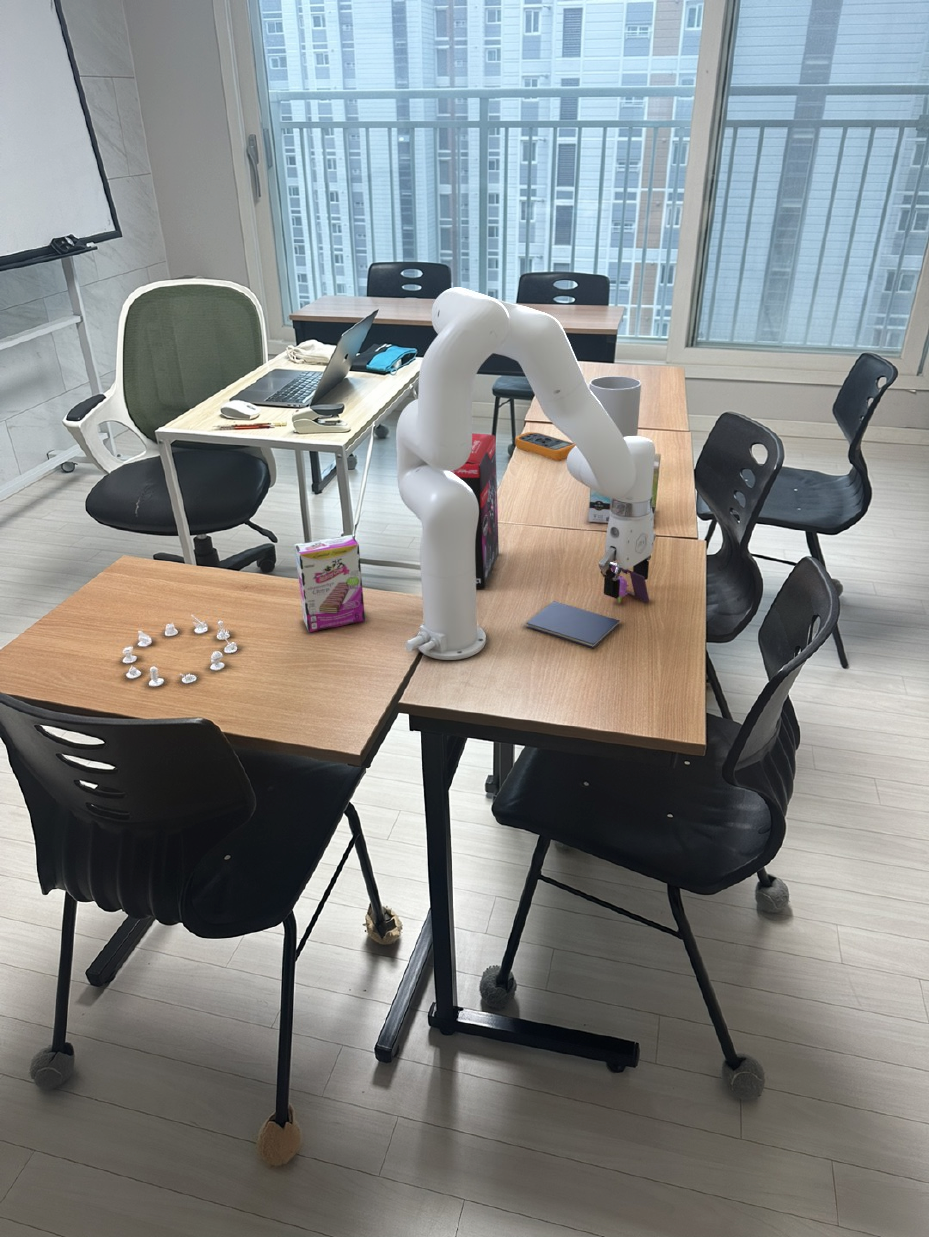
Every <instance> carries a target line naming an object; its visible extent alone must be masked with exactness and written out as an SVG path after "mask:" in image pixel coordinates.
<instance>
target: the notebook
mask: <svg viewBox="0 0 929 1237" xmlns="http://www.w3.org/2000/svg"><path fill="white" fill-rule="evenodd" d="M619 622H620V620H619V619H617V618H612V617H609V616H606V615H603V614H599V613H596V612H592V611H589V610H586V609H582V608H579V607H576V606H572V605H568V604H565V603H562V602H558V601H555V600H553V601H552V602H551V603H549V604H548V605H546V606H545V607H544V608H543V609H542V610H541V611H539V612H538V613H537V614H535V615H534V616H533V617H531V619H529V620H528V621H527V622H525V624H527V625H526V627H525V628H527V629H529V630H530V629H531V630H533V631H537V632H539V633H543V634H546V635H549V636H552V637H556V638H558V639H562V640H565V641H567V642H571V643H574V644H577V645H581V646H584V647H587V648H590V649H595V648H596V647H597V646H598V645H599V644H600V643H602V642H603V641H604V639H607V637H608V636H609V635H610V634H611V633H613V632H614V630H616V629H617V628H618V627H619V626H620V624H619Z"/></svg>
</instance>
